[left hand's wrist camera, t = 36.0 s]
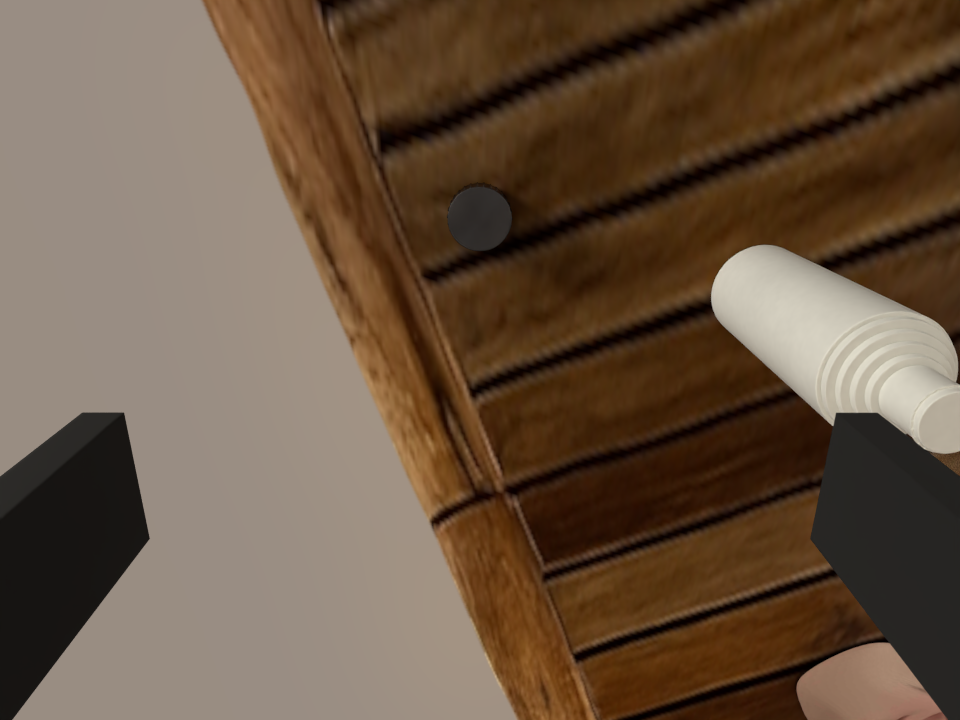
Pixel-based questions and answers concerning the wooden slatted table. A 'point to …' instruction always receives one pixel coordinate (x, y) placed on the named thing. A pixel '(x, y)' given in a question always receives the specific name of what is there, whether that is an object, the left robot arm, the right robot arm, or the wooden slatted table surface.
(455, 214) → the cap
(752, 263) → the bottle
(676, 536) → the wooden slatted table surface
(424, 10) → the wooden slatted table surface
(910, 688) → the anatomical model
